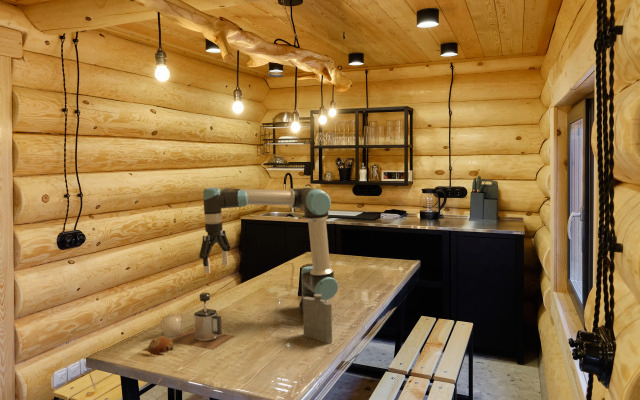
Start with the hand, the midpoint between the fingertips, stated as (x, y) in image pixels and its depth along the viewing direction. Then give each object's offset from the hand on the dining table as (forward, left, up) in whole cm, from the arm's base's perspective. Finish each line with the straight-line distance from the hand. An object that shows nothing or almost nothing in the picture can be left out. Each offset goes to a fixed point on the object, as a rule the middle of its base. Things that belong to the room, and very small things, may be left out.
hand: (216, 268), depth 222 cm
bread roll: (+12, +24, -31) cm, 41 cm away
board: (+3, +9, -31) cm, 32 cm away
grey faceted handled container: (0, +7, -30) cm, 30 cm away
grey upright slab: (-44, -14, -31) cm, 55 cm away
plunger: (+2, +7, -28) cm, 28 cm away
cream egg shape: (+19, +10, -31) cm, 37 cm away
